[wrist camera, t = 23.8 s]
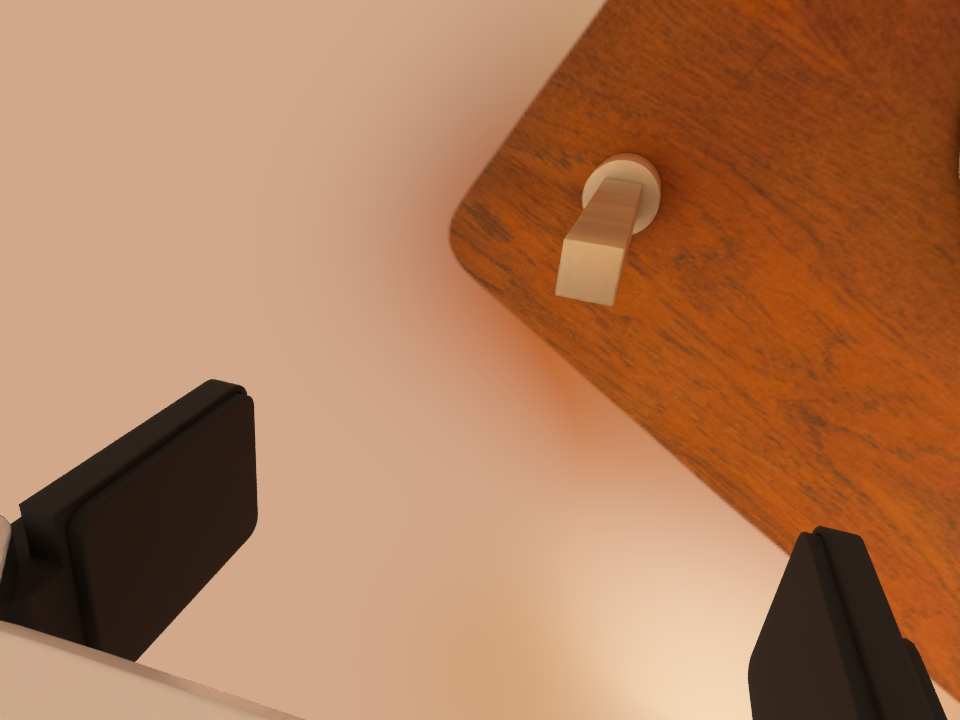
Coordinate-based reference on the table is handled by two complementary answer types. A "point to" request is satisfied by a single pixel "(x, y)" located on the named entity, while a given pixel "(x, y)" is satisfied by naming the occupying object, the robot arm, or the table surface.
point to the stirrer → (607, 227)
